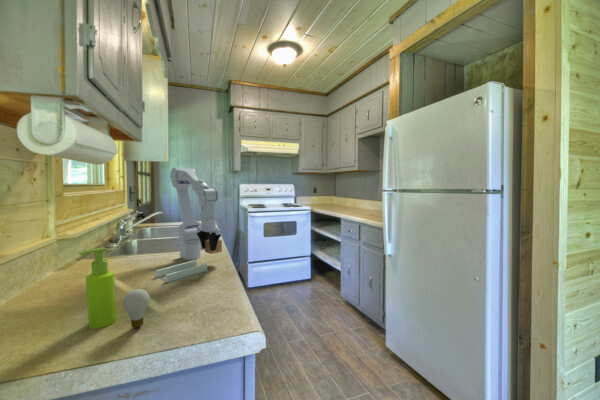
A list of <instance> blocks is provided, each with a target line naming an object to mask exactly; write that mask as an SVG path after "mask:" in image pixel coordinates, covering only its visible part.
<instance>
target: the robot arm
mask: <svg viewBox="0 0 600 400" xmlns="http://www.w3.org/2000/svg"><path fill="white" fill-rule="evenodd" d="M170 181H171V184H172V187H173V188H174V189H175V190H176V194H177V199H178V203H179V208H180V211H181V215H182V220H183V222H182V223H181V224H180V225H179V227H178V238H179V241H181V243H180V245H179V259H181V258H182V259H184V261H185V260H186V261H193V260H199V259H200V258H201V257H202V256H201V248H202V249H203V250H205V240H209V244H210V250H211V251H214V250H216V247H217V243H218V240H220V238H221V236H222V229H220V228H218V227H216V222H217V221H216V202H217V201H218V199H219V192H218V191H217V189H216V188H212V187H210V186H209V185H208V184H207V183H206V182H205V181H204V180H203V179H199V178H198V177H197V174H196V170H195V168H193V167H191V168H189V167H188V168H187V167H186V168H184V167H172V169H170ZM190 188H191V189H192V190H193V191H194V193H195V194H196V195H197V199H198V202H199V207H200V221H201V222H199V221H198V220H196V219H195V214H194V210H193V205H192V201H191V198H190V194H189V189H190Z"/></svg>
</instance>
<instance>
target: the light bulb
mask: <svg viewBox="0 0 600 400" xmlns="http://www.w3.org/2000/svg"><path fill="white" fill-rule="evenodd" d="M150 301H151V298H150V294H149V293H148V292H147V290H145V289H142V288H136V289H135V288H134V289H132V290H131V291H128V293H127V294H125V296H124V297H123V300H122V307H123V310H124V311H125V312H126V313H127V314H128V315H129V319H130V325H131V327H132V328H134V329H139V328H141V326H143V325H144V316H145V313H146V311H147V307H148V306H149V304H150Z"/></svg>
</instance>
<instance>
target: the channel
mask: <svg viewBox="0 0 600 400" xmlns="http://www.w3.org/2000/svg"><path fill="white" fill-rule="evenodd" d="M208 272H210V270H209V269H208V264H207V263H203V264H198V265H197V259H194V260H189V261H186V262H182V263H178V264H174V265H171V266H168V267H163V268H160V269H156V270H155V275H154V277H156V278H158V279H159V280H162V281H164V282H166V283H168V284H173V283H176V282H180V281H183V280H187V279H188V278H192V277H195V276H198V275H202V274H206V273H208ZM164 277H165V278H164Z"/></svg>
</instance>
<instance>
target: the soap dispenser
mask: <svg viewBox="0 0 600 400" xmlns="http://www.w3.org/2000/svg"><path fill="white" fill-rule="evenodd" d="M104 252H107V248H105V247H96V248H90V249H84V250H82V251H80V252H78V254H79V256H86V255H88V254H92V253H94V260H93V261H91V266H90V267H91V273H89V274H88V275H86V276H85V285H86V286H85V287H86V303H87V320H88V328H89V329H92V328H97V329H102V328H101V327H103V328H106V327H108V325H109V326H110V324H111V325H113V324H114V323H116V321H117V309H116V308H117V306H116V289H115V285H116V284H115V272H114V271H112V270H109V265H108V263H109V262H108V260H107V259H105V258H104ZM105 326H106V327H105Z"/></svg>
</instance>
